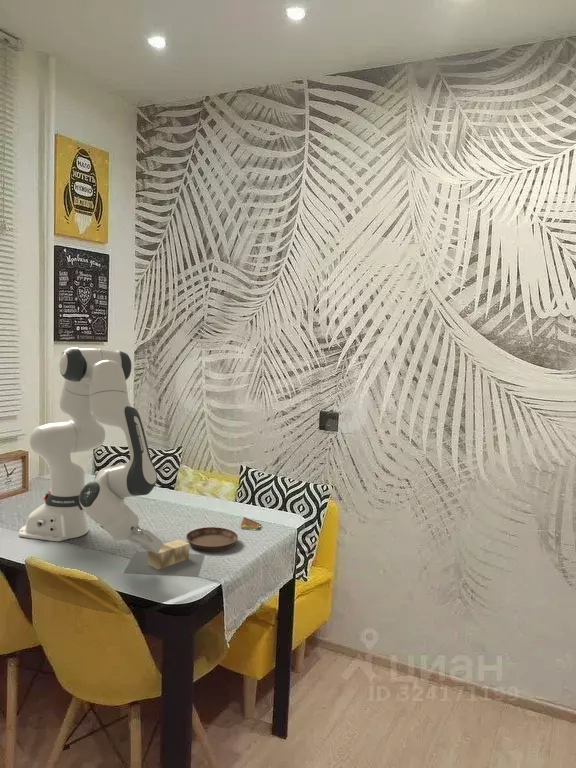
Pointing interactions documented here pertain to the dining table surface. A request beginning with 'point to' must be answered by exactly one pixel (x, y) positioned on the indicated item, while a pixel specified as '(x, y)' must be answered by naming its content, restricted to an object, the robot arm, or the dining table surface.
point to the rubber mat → (178, 569)
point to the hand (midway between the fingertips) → (149, 548)
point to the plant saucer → (212, 538)
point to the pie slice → (249, 524)
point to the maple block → (169, 554)
